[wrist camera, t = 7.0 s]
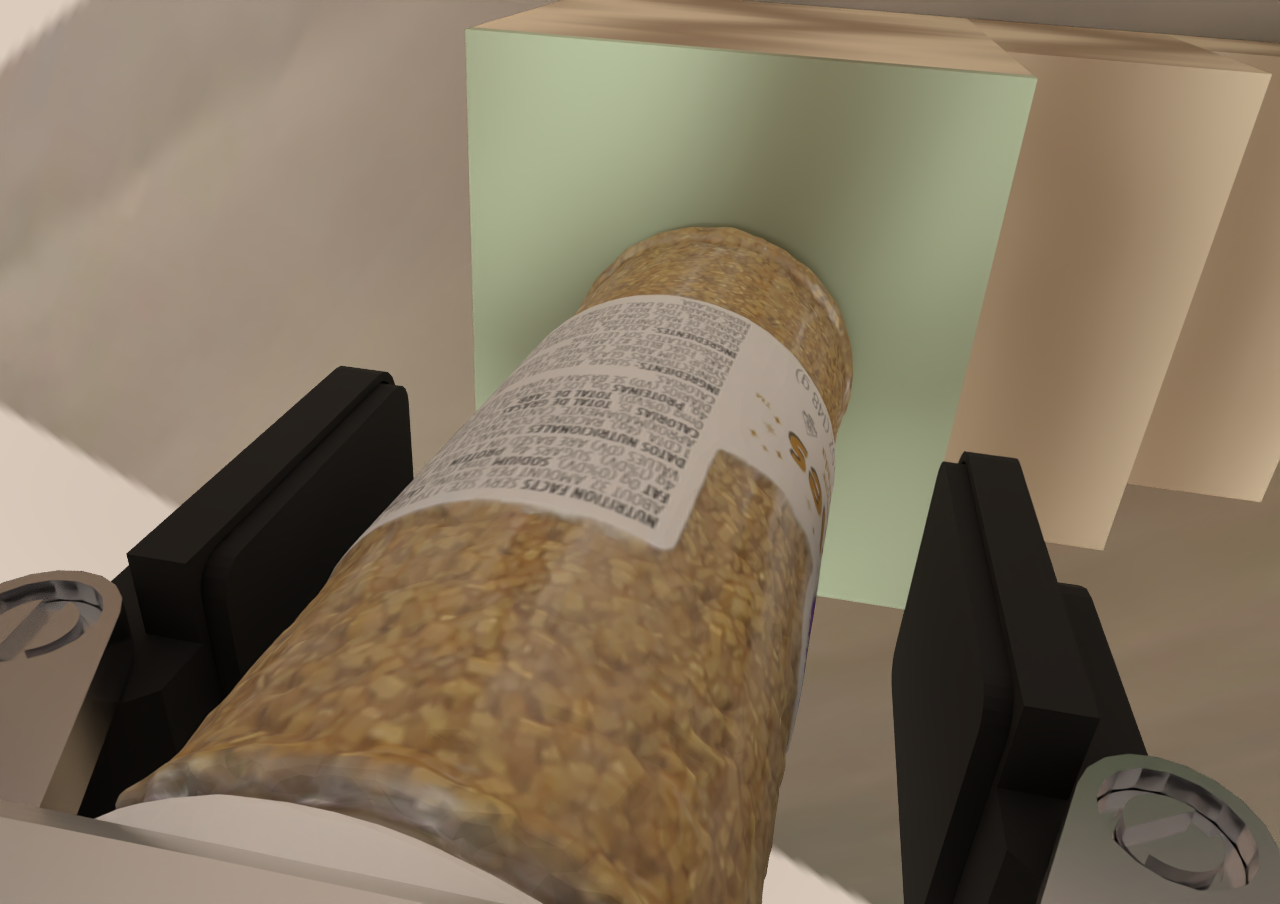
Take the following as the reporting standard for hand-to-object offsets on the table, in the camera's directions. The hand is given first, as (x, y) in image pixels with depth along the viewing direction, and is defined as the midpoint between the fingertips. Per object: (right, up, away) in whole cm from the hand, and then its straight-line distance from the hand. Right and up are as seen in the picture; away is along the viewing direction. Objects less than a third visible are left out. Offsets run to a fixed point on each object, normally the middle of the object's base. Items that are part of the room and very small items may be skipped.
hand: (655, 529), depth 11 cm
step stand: (+7, +6, +12) cm, 15 cm away
